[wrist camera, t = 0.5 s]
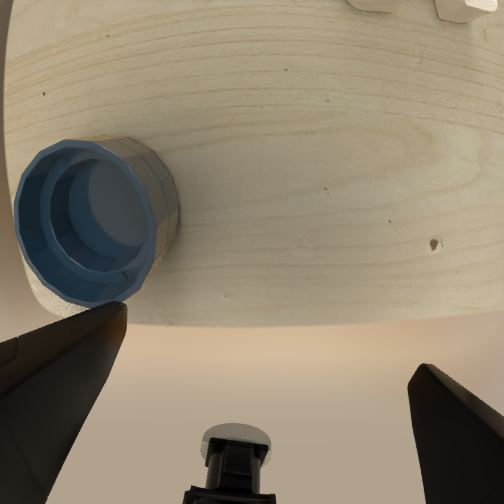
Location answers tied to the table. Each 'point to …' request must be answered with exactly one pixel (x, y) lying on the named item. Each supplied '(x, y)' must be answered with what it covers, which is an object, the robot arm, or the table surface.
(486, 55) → the table surface
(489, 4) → the slotted base with upright
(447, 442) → the robot arm
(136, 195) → the bowl
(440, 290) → the table surface
